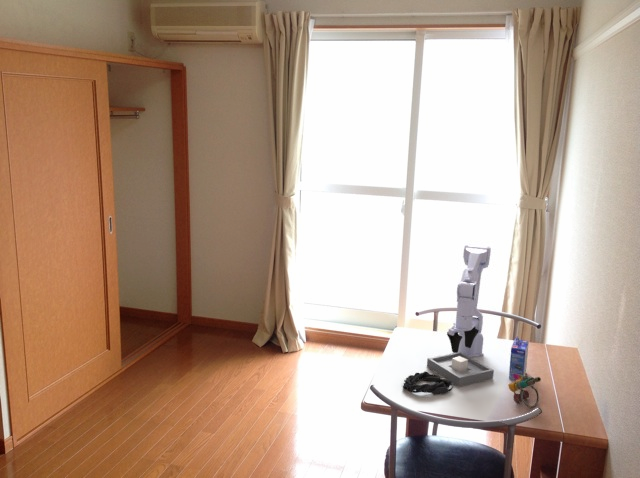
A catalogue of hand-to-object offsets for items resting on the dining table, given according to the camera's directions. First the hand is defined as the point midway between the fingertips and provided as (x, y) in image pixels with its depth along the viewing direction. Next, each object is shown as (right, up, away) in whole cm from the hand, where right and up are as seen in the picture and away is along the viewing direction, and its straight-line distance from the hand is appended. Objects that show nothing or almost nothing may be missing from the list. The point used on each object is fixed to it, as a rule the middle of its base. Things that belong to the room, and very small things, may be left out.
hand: (461, 349), depth 210 cm
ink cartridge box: (+21, -10, +2) cm, 23 cm away
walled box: (0, -9, +2) cm, 9 cm away
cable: (-15, -12, -10) cm, 22 cm away
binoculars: (+16, -14, -18) cm, 28 cm away
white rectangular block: (0, -9, +2) cm, 9 cm away
